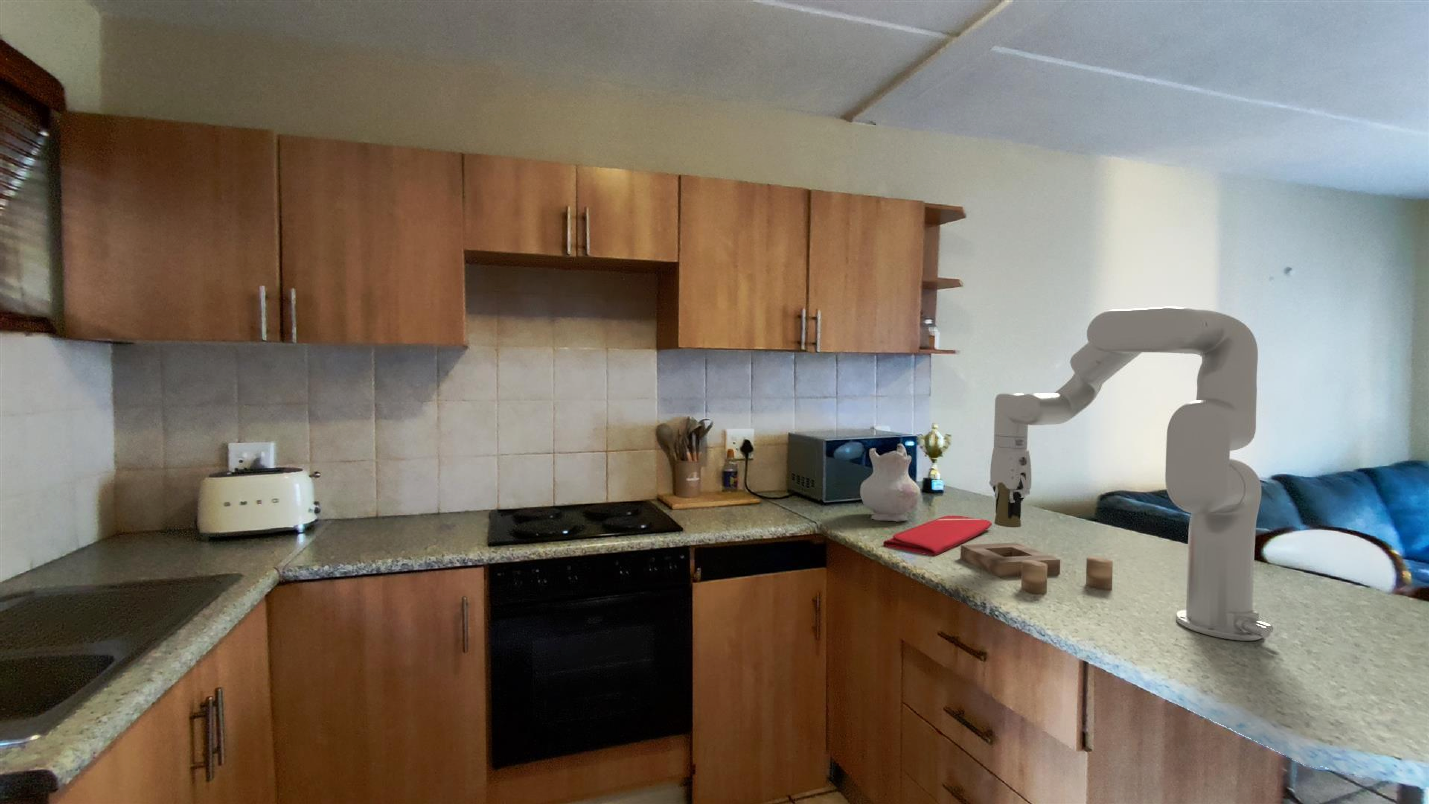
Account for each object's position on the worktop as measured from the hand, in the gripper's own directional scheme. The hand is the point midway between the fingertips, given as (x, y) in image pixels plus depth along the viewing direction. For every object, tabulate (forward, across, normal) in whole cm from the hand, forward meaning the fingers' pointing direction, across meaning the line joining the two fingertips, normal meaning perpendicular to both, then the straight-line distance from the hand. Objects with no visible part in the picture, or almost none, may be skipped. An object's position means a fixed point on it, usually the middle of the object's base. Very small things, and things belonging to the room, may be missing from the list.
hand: (1007, 515), depth 153 cm
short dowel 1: (+12, -18, +6) cm, 23 cm away
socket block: (+13, 0, 0) cm, 13 cm away
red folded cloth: (+14, +28, +1) cm, 32 cm away
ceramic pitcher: (+14, +56, +3) cm, 58 cm away
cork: (+2, 0, 0) cm, 2 cm away
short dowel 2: (+12, -18, -10) cm, 24 cm away
